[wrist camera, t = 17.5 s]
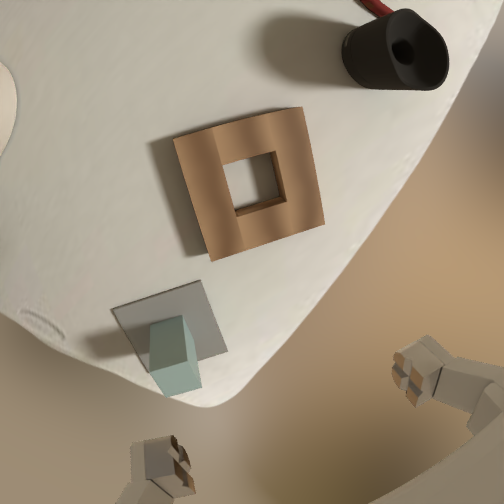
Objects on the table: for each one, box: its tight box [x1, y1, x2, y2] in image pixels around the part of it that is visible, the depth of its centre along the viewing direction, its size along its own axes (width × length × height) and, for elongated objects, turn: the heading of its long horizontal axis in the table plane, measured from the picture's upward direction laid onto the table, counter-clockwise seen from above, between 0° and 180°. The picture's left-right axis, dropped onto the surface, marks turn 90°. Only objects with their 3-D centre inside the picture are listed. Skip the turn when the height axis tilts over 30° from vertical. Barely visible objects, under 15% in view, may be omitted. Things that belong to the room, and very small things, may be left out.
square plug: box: [149, 315, 202, 397], centre depth 36 cm, size 4×4×9 cm
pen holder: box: [342, 9, 449, 91], centre depth 29 cm, size 9×9×10 cm
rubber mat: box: [113, 280, 228, 375], centre depth 41 cm, size 12×12×1 cm
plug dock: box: [173, 107, 325, 262], centre depth 35 cm, size 14×14×2 cm
